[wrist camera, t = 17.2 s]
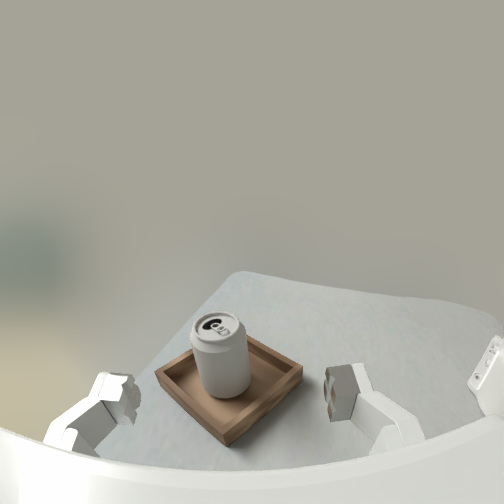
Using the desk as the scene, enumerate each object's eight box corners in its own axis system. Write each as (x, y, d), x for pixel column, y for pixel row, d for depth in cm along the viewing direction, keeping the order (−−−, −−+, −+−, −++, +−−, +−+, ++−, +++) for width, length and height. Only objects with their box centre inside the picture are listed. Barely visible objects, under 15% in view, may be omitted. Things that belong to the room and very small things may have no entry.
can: (231, 359, 49) (222, 300, 44) (261, 383, 44) (256, 323, 38) (193, 381, 45) (177, 322, 40) (222, 410, 39) (208, 352, 34)
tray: (231, 339, 55) (229, 324, 54) (302, 381, 45) (302, 366, 43) (160, 385, 45) (154, 371, 44) (226, 447, 35) (222, 434, 33)
